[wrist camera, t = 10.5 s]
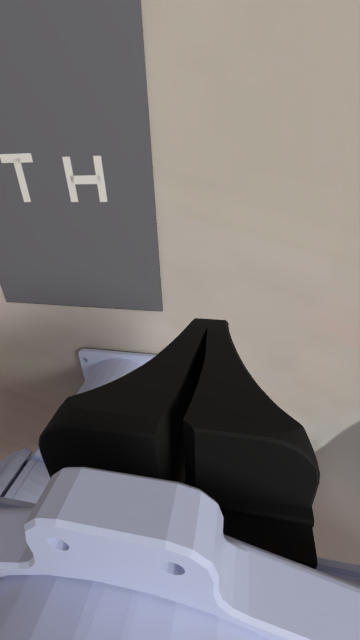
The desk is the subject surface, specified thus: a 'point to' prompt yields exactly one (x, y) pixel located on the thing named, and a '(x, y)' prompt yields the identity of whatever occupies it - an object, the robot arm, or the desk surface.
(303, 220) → the desk surface
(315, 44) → the desk surface
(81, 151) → the mat
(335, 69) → the desk surface
